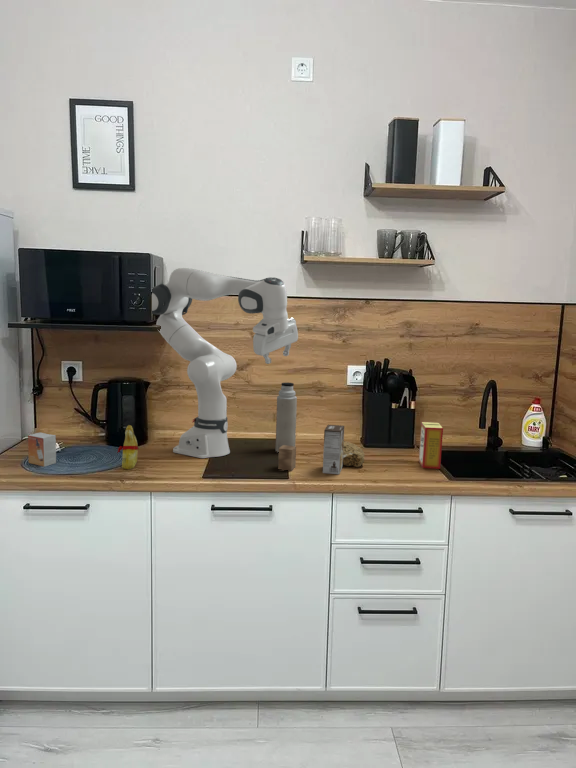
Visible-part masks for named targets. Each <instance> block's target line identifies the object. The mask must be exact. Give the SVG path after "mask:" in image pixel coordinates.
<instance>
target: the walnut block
mask: <svg viewBox="0 0 576 768" xmlns="http://www.w3.org/2000/svg"><path fill="white" fill-rule="evenodd" d="M277 460H278V461H277V462H278V464H277V465H278V467H277V469H282V470H281V471H284V470H288V471H287V472H292V471H294V468H295V469H296V465H297V464H296V460H297V446H296V445H295V446H286V445H283V446H281V447H280V448H279V453H278V459H277Z"/></svg>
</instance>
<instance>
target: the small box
mask: <svg viewBox="0 0 576 768" xmlns="http://www.w3.org/2000/svg"><path fill="white" fill-rule="evenodd" d="M56 439H57V438H56V434H48V433H45V432H36V433H32V434H29V435H27V448H28V449H27V451H28V453H27V455H28V456H27V457H28V459H27V460H28V463H29V464H32V465H36V466H40V467H47V466H51V465H55V464H56V463H57V444H56V443H57V441H56Z"/></svg>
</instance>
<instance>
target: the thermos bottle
mask: <svg viewBox="0 0 576 768" xmlns="http://www.w3.org/2000/svg"><path fill="white" fill-rule="evenodd" d="M280 385H281V387H280V388H281V389H280V390H279V391H278V395H277V396H276V418H275V419H276V420H275V422H276V424H275V452H276V451H277V452H276V453H278V452H279V448H280V447H281V446H283V445H286V446H295V447H296V437H297V435H296V432H297V431H296V429H297V410H298V408H297V405H298V397H297V396H296V395H297V394H296V391H295V390H294V386H295V384H294V383H293V382H281V384H280Z"/></svg>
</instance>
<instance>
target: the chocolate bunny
mask: <svg viewBox="0 0 576 768" xmlns="http://www.w3.org/2000/svg"><path fill="white" fill-rule="evenodd" d="M124 434H125V436H124V441H123V446H121V445H120V446H119V447H118V448H117V453H116V454H119V453H120V452H121V451H122V457H121V468H122V469H123V470H124V469H125V470H131V469H132V470H133V469H134V468H135V465H136V464H137V462H138V450H139V446H138V440H137V437H136V434H135V430H134V427H133V426H132V425H130V424H128V425H127V426H126V428H125V432H124Z"/></svg>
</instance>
